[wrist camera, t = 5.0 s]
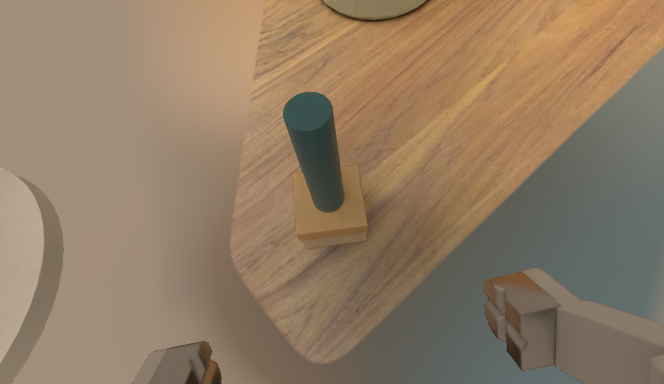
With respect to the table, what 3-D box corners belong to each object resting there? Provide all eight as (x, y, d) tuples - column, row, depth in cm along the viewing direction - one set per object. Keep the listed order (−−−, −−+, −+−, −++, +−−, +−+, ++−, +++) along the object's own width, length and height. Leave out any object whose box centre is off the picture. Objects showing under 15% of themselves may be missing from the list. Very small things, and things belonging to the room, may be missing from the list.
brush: (305, 250, 27) (254, 164, 14) (301, 194, 29) (253, 78, 17) (367, 242, 27) (370, 147, 14) (358, 186, 29) (353, 63, 17)
